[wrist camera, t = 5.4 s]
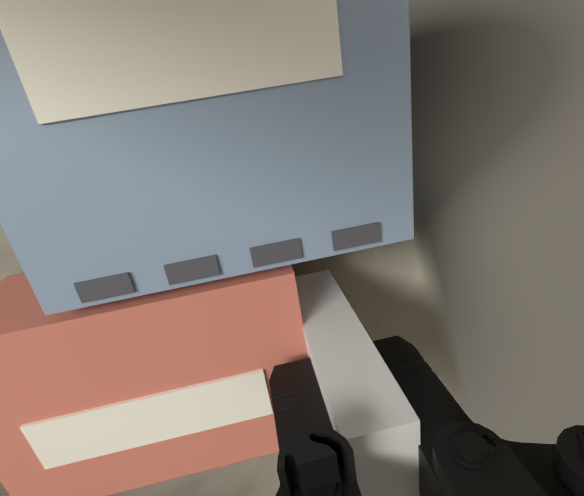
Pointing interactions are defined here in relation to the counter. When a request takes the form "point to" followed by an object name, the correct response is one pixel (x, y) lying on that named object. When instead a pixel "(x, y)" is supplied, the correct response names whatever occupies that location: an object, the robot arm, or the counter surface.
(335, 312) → the robot arm
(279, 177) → the blue labeled box
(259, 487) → the counter surface
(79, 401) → the red box
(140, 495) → the counter surface
